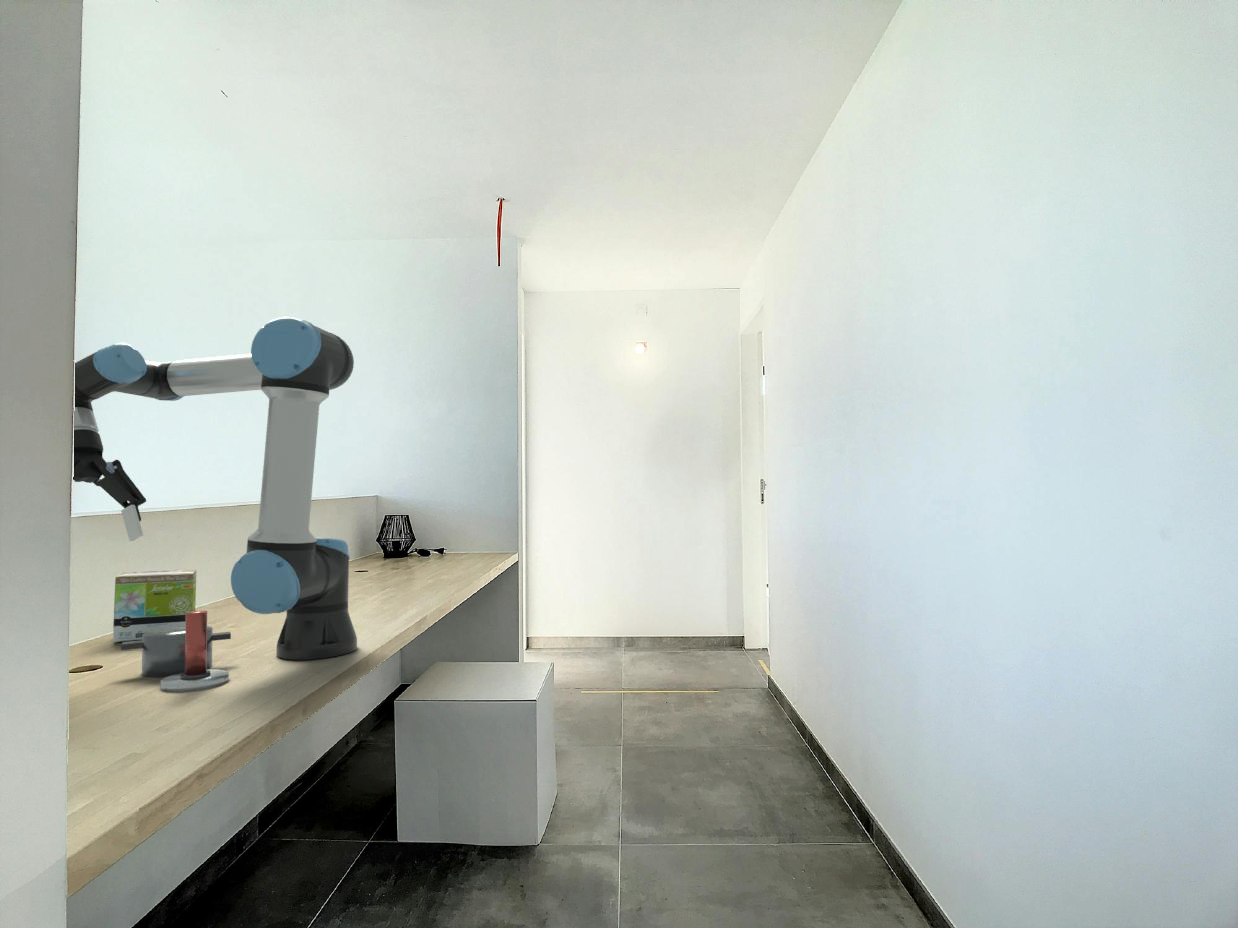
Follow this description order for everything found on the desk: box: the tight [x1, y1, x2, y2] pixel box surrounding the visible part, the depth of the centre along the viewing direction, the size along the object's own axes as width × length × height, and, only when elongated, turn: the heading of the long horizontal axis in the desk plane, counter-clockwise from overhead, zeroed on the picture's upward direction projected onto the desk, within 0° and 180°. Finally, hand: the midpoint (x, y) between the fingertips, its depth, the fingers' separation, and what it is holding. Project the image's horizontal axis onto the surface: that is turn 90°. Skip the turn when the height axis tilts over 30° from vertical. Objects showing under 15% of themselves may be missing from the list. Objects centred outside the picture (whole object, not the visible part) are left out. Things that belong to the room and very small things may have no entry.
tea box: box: [112, 569, 197, 644], centre depth 161 cm, size 15×10×15 cm, turn 117°
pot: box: [120, 625, 232, 678], centre depth 130 cm, size 17×11×7 cm, turn 121°
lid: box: [160, 610, 230, 693], centre depth 120 cm, size 10×10×12 cm
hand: (102, 538), depth 130 cm, fingers open, 13 cm apart
